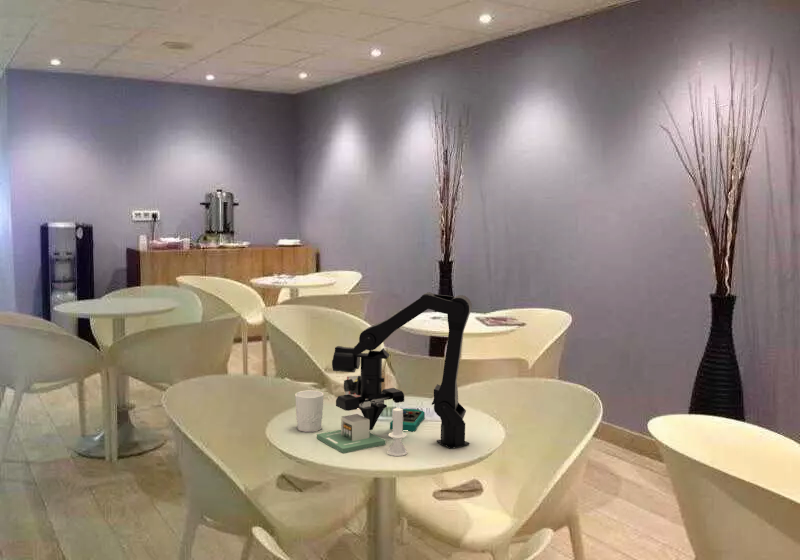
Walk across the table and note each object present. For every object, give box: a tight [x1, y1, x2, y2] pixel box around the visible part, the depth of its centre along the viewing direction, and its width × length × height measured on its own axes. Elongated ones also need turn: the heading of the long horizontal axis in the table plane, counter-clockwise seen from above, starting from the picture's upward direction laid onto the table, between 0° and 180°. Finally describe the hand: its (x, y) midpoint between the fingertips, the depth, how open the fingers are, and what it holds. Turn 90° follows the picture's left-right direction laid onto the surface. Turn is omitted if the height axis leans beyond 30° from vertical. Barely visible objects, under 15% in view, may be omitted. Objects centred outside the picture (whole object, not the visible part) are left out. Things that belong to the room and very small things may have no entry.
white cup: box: [294, 389, 325, 433], centre depth 209 cm, size 8×8×10 cm
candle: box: [386, 407, 409, 457], centre depth 190 cm, size 5×5×12 cm
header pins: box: [344, 424, 352, 440], centre depth 198 cm, size 3×1×3 cm, turn 35°
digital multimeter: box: [389, 408, 426, 432], centre depth 216 cm, size 7×15×3 cm, turn 167°
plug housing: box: [340, 413, 371, 441], centre depth 199 cm, size 6×5×5 cm
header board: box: [316, 429, 387, 454], centre depth 199 cm, size 14×13×1 cm
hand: (370, 429), depth 203 cm, fingers closed
